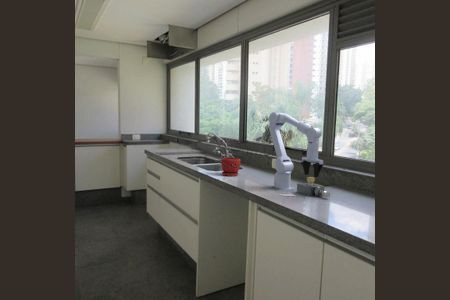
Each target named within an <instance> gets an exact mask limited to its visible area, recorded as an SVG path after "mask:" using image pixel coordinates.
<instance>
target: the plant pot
mask: <svg viewBox="0 0 450 300" xmlns="http://www.w3.org/2000/svg"><path fill="white" fill-rule="evenodd" d="M240 167H241V159H240V158H238V157H222V158H221V169H222V172H221V174H222V175H223V176H225V175H227V176H226V177H236V176H238V175H239V171H240Z"/></svg>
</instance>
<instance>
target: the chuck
mask: <svg viewBox="0 0 450 300" xmlns="http://www.w3.org/2000/svg"><path fill="white" fill-rule="evenodd" d="M296 185H297V186H296V193H297V194H298V193H299V194H301V193H302V194H301V195H304V194H305V195H304V196H307V197H314V196H315V197H322V196H323V197H326V198H330V196H331V193H330V191H329V192H328V191H326V190H325V185H322V184H319V183H314V182H313V186H309V185H308V182H305V183H303V182H302V183H300V182H299V183H297V184H296Z"/></svg>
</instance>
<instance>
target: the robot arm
mask: <svg viewBox="0 0 450 300" xmlns="http://www.w3.org/2000/svg"><path fill="white" fill-rule="evenodd" d="M269 114H270V115H269V116H268V123H269V128H268V129H269V134H270V137H271V140H272V143H273V147H274V151H275V154H276V159H275V160H274V162H275V170H276V172H275V174H274V178H273V185H272V188H273V187H274V188H277V189H279V190H293V189H294V187H291V178H292V177H291V174H292V171H294V168H295V167H294V162H292V159H291V158H290V157H289V156H288V154H287V152H286V148H285V144H284V141H283V138H282V134H281V128H282V127H283V126H284V125H285V124H286V123H287V124H289V125H291V126H293V127H295V128H296V130H297V131H298V132H299V133H302V134H303V135H305V136H306V138H307V146H306V147H307V149H306V157H305V156H303V157H301V162H300V164H301V166H302V169H303V173H304V175H305V176H308V175H309V174H310V168H311V165H312V167H313V178H319V176H320V172H321V170H322V169H323V167H324V160H323V159H319V149H320V148H319V145H320V138H321V137H322V133H323V132H322V129H320V128H319V127H315V126H314V125H313V124H309V123H307V121H305V120H304V121H303V120H302V121H300V120H299V121H298V119H296V118H294V117H292V116H291V115H290V114H288V113H286V112H276V111H273V112H271V113H269Z"/></svg>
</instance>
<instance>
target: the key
mask: <svg viewBox="0 0 450 300" xmlns="http://www.w3.org/2000/svg"><path fill="white" fill-rule="evenodd" d="M315 179H316V177H314V176H307V177H306V182H307V183H308V185H309V186H313V183H314V182H315Z"/></svg>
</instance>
